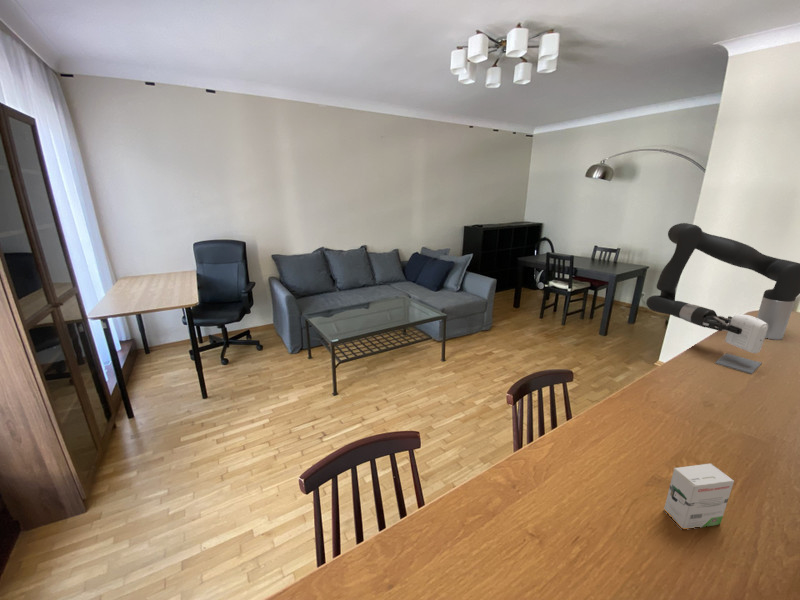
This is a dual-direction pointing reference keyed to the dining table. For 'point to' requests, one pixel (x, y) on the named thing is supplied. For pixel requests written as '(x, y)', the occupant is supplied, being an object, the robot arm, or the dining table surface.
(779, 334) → the robot arm
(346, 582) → the dining table surface
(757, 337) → the photo printer
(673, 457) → the dining table surface
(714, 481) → the ink box
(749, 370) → the rubber mat
